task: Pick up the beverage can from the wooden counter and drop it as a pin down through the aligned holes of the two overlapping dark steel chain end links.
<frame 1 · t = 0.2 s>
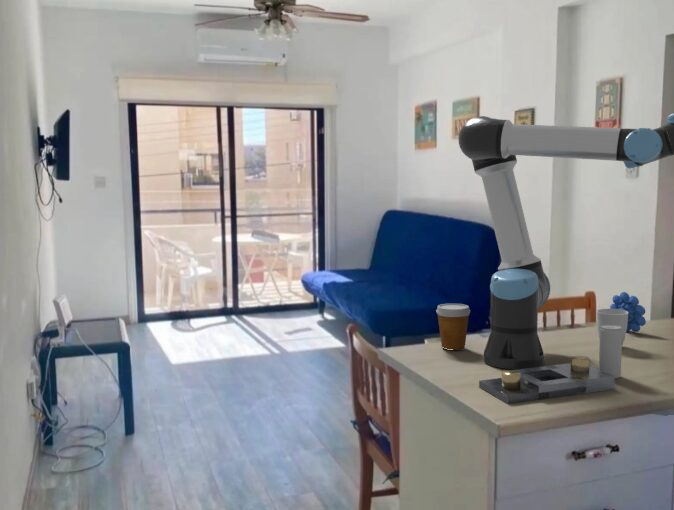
disposable coffee cup: (453, 349, 182), on the table
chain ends: (545, 388, 145), on the table
beverage can: (609, 377, 153), on the table
grapes: (625, 332, 196), on the table
cup: (611, 347, 179), on the table
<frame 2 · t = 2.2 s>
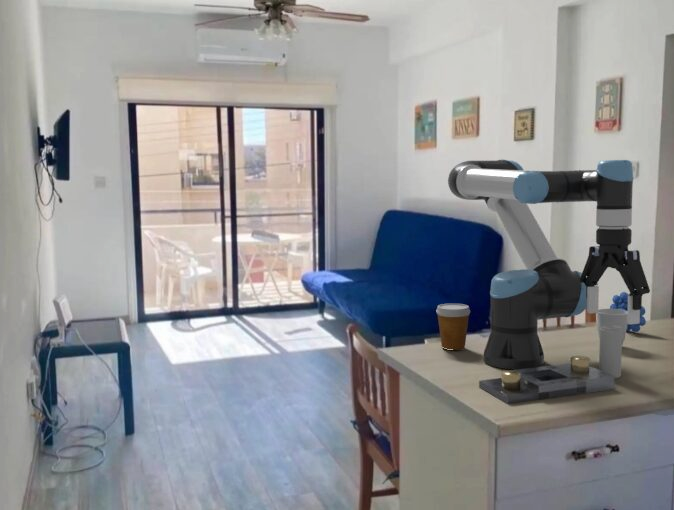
hand: (612, 318, 151), 14 cm above the table, tool pointing down, fingers open, 13 cm apart
nothing on the table moved.
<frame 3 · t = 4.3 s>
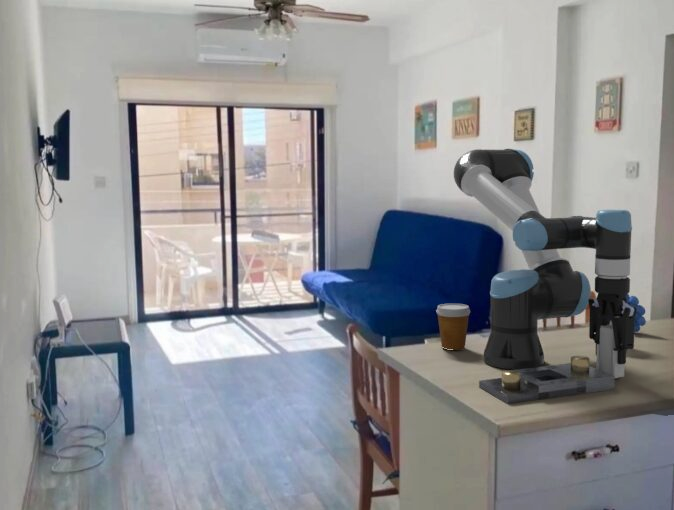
hand: (609, 373, 153), 1 cm above the table, tool pointing down, fingers closed on beverage can, 5 cm apart
beverage can: (609, 377, 153), on the table, touching gripper
everything else where it was.
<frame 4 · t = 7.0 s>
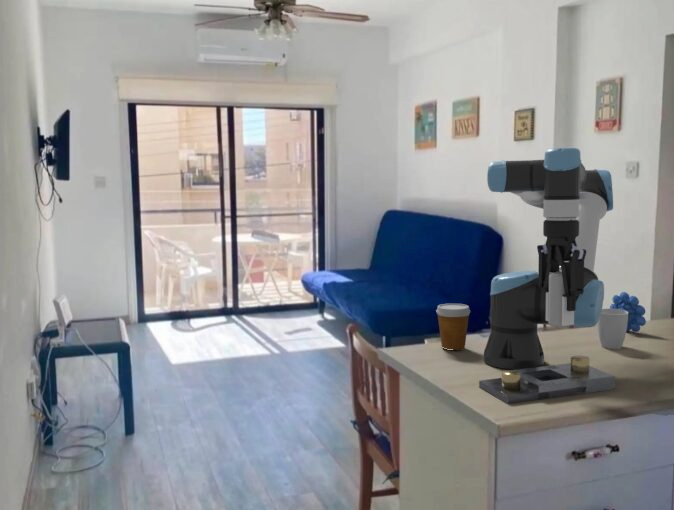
hand: (559, 322, 145), 15 cm above the table, tool pointing down, fingers closed on beverage can, 5 cm apart
beverage can: (559, 326, 145), point 14 cm above the table, touching gripper
everything else where it was.
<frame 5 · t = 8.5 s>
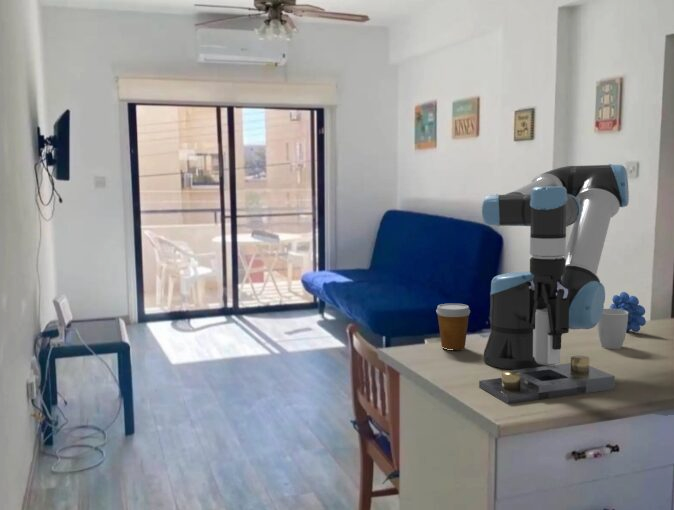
hand: (546, 359, 145), 7 cm above the table, tool pointing down, fingers closed on beverage can, 5 cm apart
beverage can: (546, 363, 145), point 6 cm above the table, touching gripper
everything else where it was.
when the fingers open (5 cm above the table, at t = 9.5 s): beverage can drops 4 cm, resting in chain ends.
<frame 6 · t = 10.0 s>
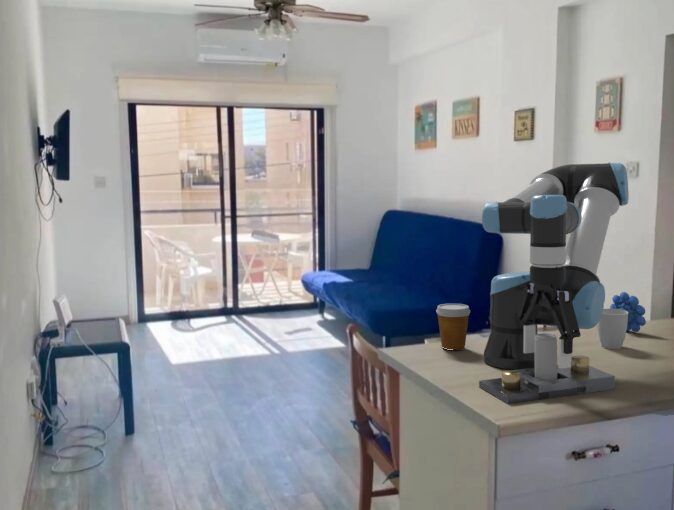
hand: (546, 359, 145), 7 cm above the table, tool pointing down, fingers open, 12 cm apart
beverage can: (545, 388, 145), resting in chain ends
everything else where it was.
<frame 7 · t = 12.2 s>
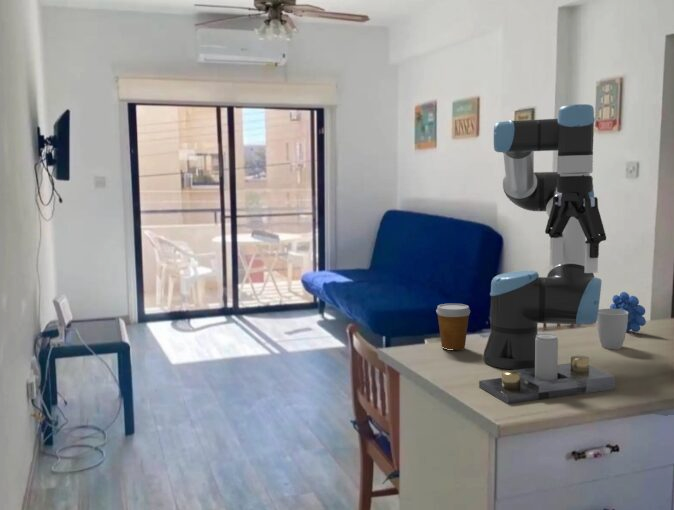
hand: (573, 268, 148), 26 cm above the table, tool pointing down, fingers open, 13 cm apart
nothing on the table moved.
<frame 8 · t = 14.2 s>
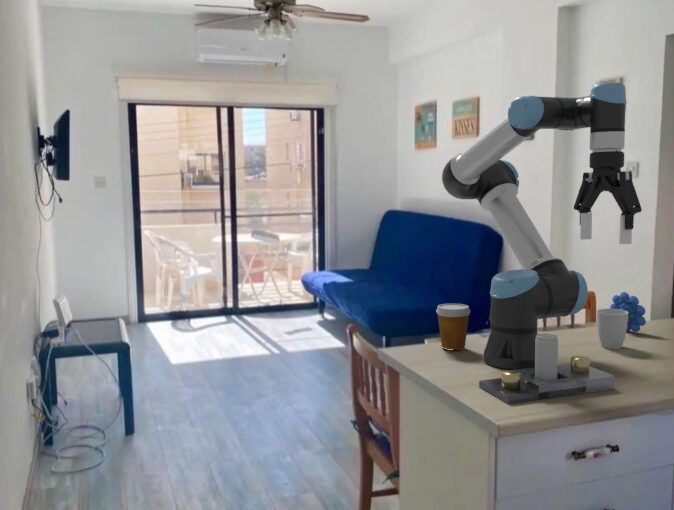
hand: (604, 241, 153), 32 cm above the table, tool pointing down, fingers open, 13 cm apart
nothing on the table moved.
at the end: beverage can 0.0 cm off-centre on the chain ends, point 0.0 cm above the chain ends's base; beverage can tilted 0°; the gripper is holding nothing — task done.
